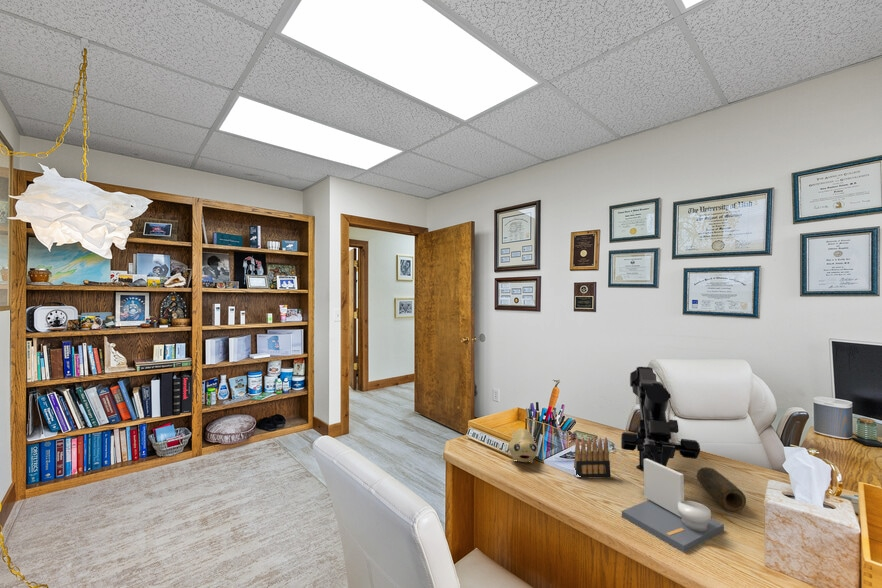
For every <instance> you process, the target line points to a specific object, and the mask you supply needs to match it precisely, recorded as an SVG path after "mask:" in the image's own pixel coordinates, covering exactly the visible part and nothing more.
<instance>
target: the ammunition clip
mask: <svg viewBox="0 0 882 588" xmlns="http://www.w3.org/2000/svg"><path fill="white" fill-rule="evenodd" d="M585 440H586V439H585V437H582V439H581V443H580V439H579V437H576V439H575V449H574V464H573V465H574V466H573V469H574V468H575V470H576V475H577V474H578V475H579V476H581V477H610V478H611V477H612V475H611V461H610V450H609V442H608V438H607V437H604V440H602V437H599V438H598V442H597V439H596V437H593V440H591V438H590V437H587V441H585ZM591 441H592V442H591ZM586 442H587V443H586ZM597 443H598V445H597ZM580 445H581V446H580Z"/></svg>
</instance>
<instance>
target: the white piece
mask: <svg viewBox="0 0 882 588" xmlns="http://www.w3.org/2000/svg"><path fill="white" fill-rule="evenodd" d="M684 481H685V480H684V474H683V473H681V472H679V471H677V470H674V469H672V468H670V467H667V466H666V467H665V466H663V465H661V464H659V463H656V462H654V461H652V460H649V459H647V458H646V459H644V471H643V494H644V495H643V497H644V498H645V499H647V500H651V501H653V502H654V503H656V504H658V505H660V506H662V507H663V508H665V509H667V510H669V511H671V512H673V513H674V514H676V515H678V516H680V517H684V518H685V519H687V520H690V521H692V522H696V523H709V522H710V521H711V519H712V511H711V509H710V508H708V507H707V506H706V505H705V504H702V503H699V502H696V501H693V500H685V489H684V488H685V482H684Z"/></svg>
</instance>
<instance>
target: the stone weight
mask: <svg viewBox="0 0 882 588" xmlns="http://www.w3.org/2000/svg"><path fill="white" fill-rule="evenodd" d="M696 480H697V481H698V483H699V484H700V486H701V487H702V488H703V489H704V490H705V492H707V493H708V495H710V496H711V497H712V498H713V500H714V501H715V502H717V503H718V504H719V505H720V506H722V507H723V508H725V509H726V510H728V511H731V512H740V511H742V510H743V509H744V508H745V506H746V504H747V498H746V495H745V494H744V493H743V492H742V490H741V489H739V488H738V487H737V486H736V485H735V484H734V483H733V482H731V481H730V480H729V479H728V478H727V477H725V476H724V475H723V474H721V473H720V472H718V471H717V470H716V469H714V468H712V467H707V466H706V467H701V468H699V469H698V470H697V472H696Z"/></svg>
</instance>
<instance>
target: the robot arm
mask: <svg viewBox="0 0 882 588" xmlns="http://www.w3.org/2000/svg"><path fill="white" fill-rule="evenodd" d="M629 386H630V387H631V388H632V393H633V394H634V395H635V396H636V397H637V398H638V404H639V405H638V406H639V411H640V417H641V418H640V420H639V424H638V431H636V433H635V432H627V431H626V432H625V431H623V432H622V433H621V435H620V436H621V437H620V444H621V445H620V446H621V447H620V448H621V449H622V450H624V451H631V452H634V451H635V450H637V452H638V455H639V456H638V457H639V458H638V459H639V462H638V463H639V464H638V465H635V466H636V469H639V470H641V471H643V472H644V459H646V458H647V459H649V460H652V461H654V462H656V463H659V464H661V465H663V466H665V467H667V465H668V462H669V459H674V458H675V454H676V451H679V455H680V456H681V457H683V458H687V459H692V460H693V459H694V460H695V459H698V458H699V454H700V452H701V446H700V443H699V442H698V440H694V439H686V438H681V439H680V442H672V441H671V440H672V434H678V433H679V431H680V430H679V423H678V420H677V419H669V420H668V421H667V415H666V411H667V409H668V406H669V401H670V400H671V399H672V398H671V397H672V396H671V393H669V390H667V388H666V387H665V386H664V385H663V383H662V382H661V381H657V374H656V373H655V372H654V369H653V367H650V366H637V367H636V368H635V370H633V371H631V372H630V374H629Z"/></svg>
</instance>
